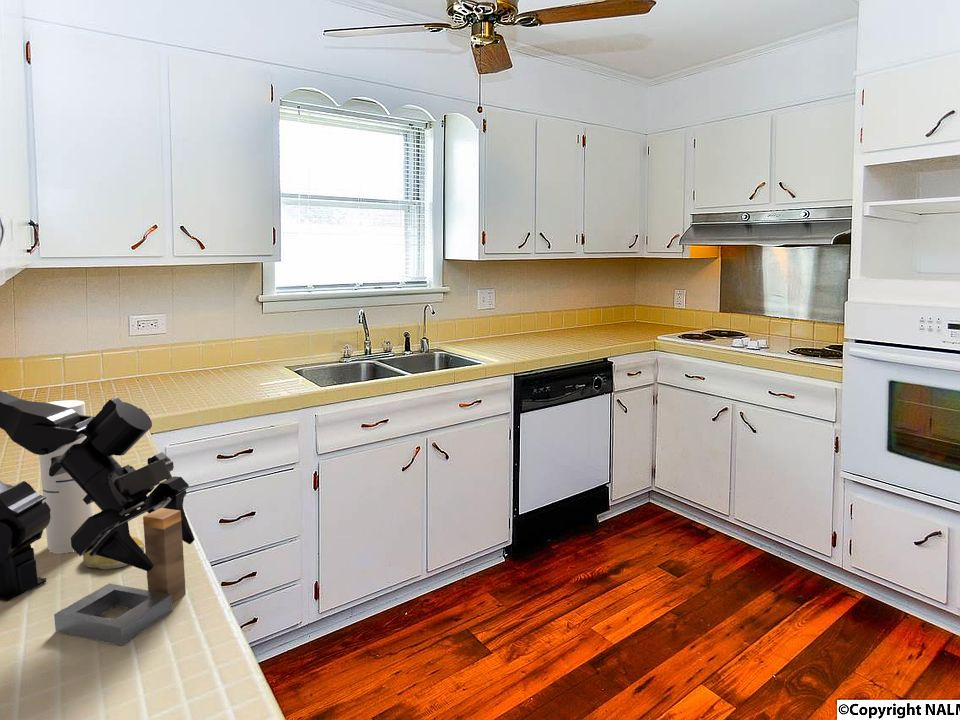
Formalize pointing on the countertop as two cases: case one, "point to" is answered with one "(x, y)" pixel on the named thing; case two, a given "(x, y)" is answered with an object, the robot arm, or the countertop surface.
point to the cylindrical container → (63, 495)
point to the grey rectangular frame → (121, 630)
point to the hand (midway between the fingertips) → (172, 554)
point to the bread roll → (107, 559)
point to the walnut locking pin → (165, 552)
